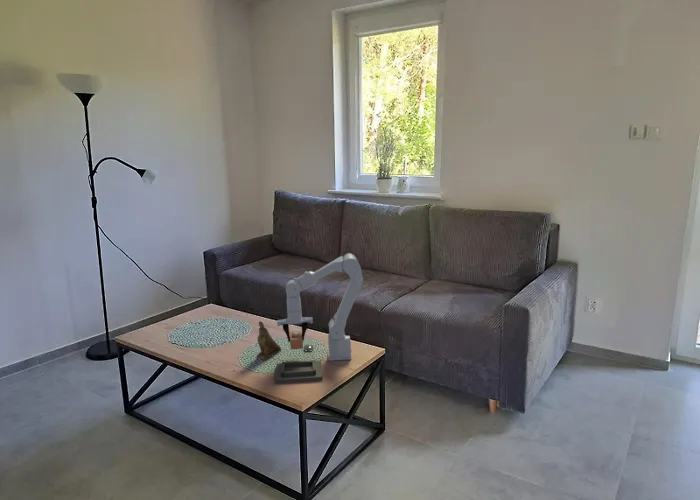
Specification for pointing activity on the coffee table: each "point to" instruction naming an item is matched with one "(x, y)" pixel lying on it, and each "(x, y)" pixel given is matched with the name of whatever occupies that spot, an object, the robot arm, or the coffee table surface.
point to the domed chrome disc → (308, 347)
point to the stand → (298, 371)
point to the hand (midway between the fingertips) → (296, 340)
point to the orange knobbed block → (296, 340)
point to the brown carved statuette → (266, 343)
